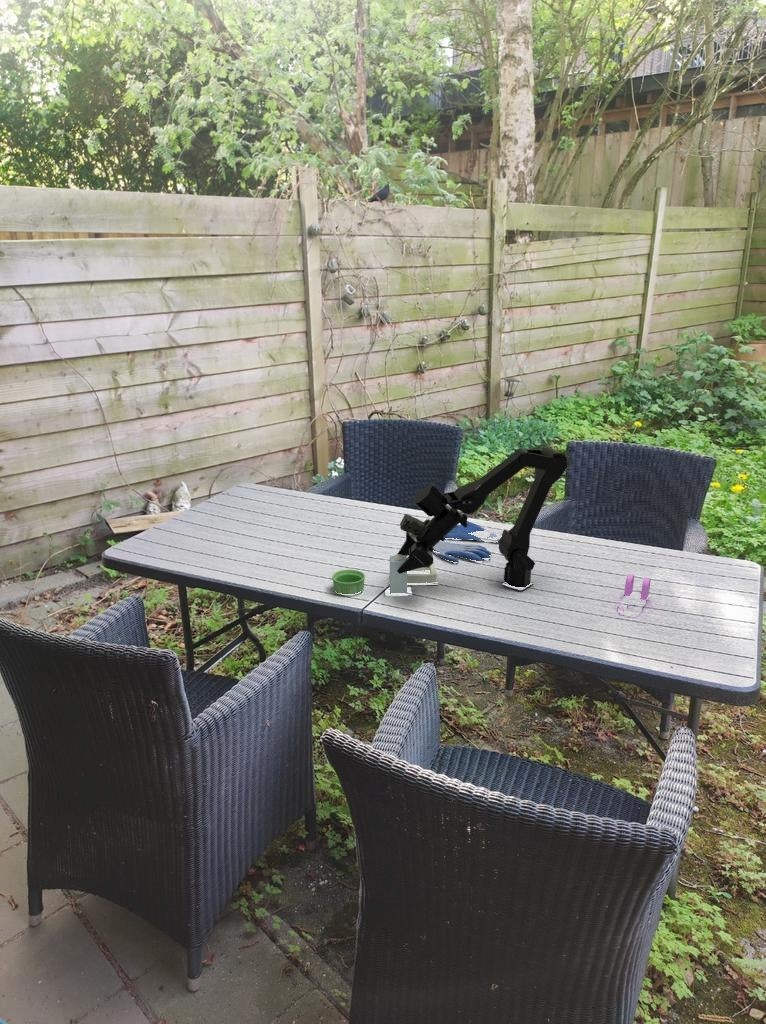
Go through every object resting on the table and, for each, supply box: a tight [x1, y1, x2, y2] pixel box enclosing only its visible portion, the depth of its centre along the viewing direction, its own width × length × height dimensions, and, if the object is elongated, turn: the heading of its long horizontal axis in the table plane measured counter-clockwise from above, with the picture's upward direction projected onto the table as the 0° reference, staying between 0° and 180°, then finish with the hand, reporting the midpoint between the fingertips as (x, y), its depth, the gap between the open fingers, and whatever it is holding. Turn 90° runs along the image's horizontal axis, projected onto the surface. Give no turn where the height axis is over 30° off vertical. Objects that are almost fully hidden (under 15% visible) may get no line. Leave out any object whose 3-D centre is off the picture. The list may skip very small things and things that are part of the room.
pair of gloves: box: [433, 520, 502, 563], centre depth 225 cm, size 32×26×4 cm
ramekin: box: [331, 569, 366, 594], centre depth 193 cm, size 9×9×4 cm
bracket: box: [618, 573, 652, 612], centre depth 183 cm, size 13×6×7 cm, turn 150°
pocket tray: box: [407, 562, 438, 583], centre depth 200 cm, size 13×10×4 cm
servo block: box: [389, 554, 408, 594], centre depth 190 cm, size 8×4×11 cm, turn 92°
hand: (397, 565), depth 189 cm, fingers open, 9 cm apart
